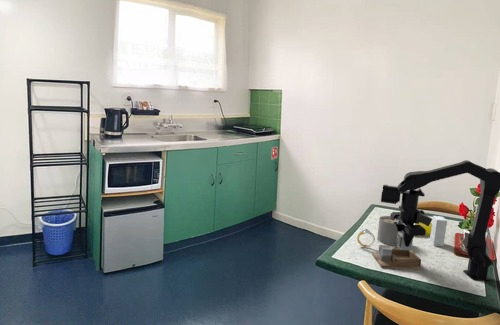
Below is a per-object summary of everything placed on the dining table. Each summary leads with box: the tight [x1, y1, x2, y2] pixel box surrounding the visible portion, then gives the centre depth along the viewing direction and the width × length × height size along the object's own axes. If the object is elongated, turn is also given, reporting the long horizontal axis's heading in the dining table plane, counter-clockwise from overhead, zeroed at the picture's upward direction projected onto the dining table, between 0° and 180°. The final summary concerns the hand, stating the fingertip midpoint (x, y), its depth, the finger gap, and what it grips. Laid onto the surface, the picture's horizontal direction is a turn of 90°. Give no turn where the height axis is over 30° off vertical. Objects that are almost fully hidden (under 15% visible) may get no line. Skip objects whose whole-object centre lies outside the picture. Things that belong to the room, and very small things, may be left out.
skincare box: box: [429, 215, 448, 248], centre depth 156 cm, size 6×4×12 cm
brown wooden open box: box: [371, 244, 423, 270], centre depth 137 cm, size 11×15×6 cm
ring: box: [356, 228, 376, 248], centre depth 150 cm, size 7×3×8 cm, turn 62°
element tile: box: [414, 222, 432, 236], centre depth 173 cm, size 15×15×5 cm
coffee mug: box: [376, 215, 398, 246], centre depth 159 cm, size 13×10×10 cm
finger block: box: [396, 231, 414, 251], centre depth 136 cm, size 4×4×6 cm
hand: (404, 244), depth 136 cm, fingers closed on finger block, 4 cm apart
